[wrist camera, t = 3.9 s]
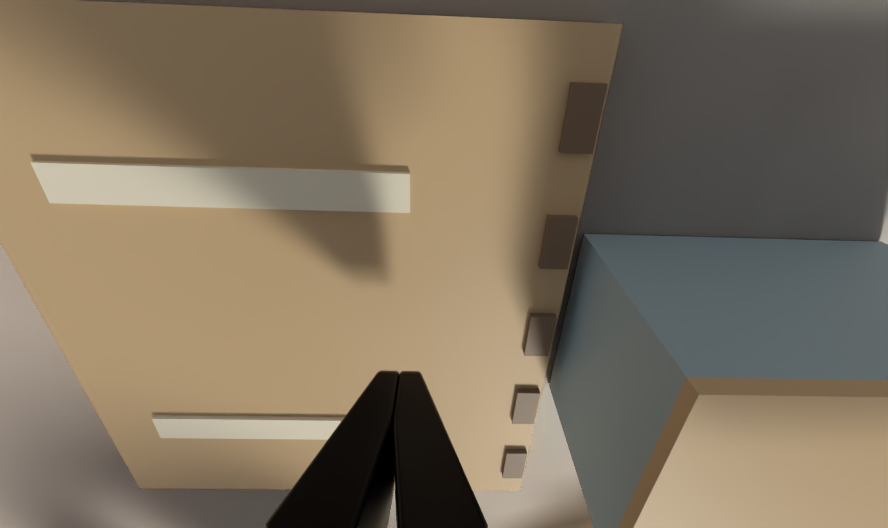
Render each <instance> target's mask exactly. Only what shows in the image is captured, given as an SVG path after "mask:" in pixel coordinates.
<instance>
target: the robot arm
mask: <svg viewBox="0 0 888 528" xmlns="http://www.w3.org/2000/svg"><path fill="white" fill-rule="evenodd" d="M394 484H395V499H396V520H397V528H488V525H487V522H486V520H485V518H484V516H483V513H482V511H481V509H480V506H479V504H478V502H477V500H476V497H475V495H474V493H473V490H472V488H471V486H470V484H469V481H468V479H467V477H466V474H465V472H464V470H463V467H462V465H461V463H460V461H459V458H458V456H457V454H456V451H455V449H454V447H453V445H452V442H451V440H450V438H449V435H448V433H447V431H446V429H445V426H444V424H443V422H442V419H441V417H440V415H439V412H438V410H437V408H436V406H435V403H434V401H433V399H432V396H431V394H430V392H429V390H428V387H427V385H426V383H425V380H424V378H423V376H422V374H421V373H420V372H419V371H402V372H400V374H399V372H398V371H385V370H381V371H379V372H377V374H376V375H375V376H374V378H373V379H372V380H371V382H370V383H369V384H368V386H367V387H366V388H365V390H364V391H363V393H362V394H361V395H360V397H359V398H358V399H357V401H356V402H355V403H354V405H353V406H352V407H351V409H350V410H349V412H348V413H347V414H346V416H345V417H344V418H343V420H342V421H341V422H340V424H339V425H338V426H337V428H336V429H335V431H334V432H333V433H332V435H331V436H330V437H329V439H328V440H327V441H326V443H325V444H324V446H323V447H322V448H321V450H320V451H319V452H318V454H317V455H316V456H315V458H314V459H313V460H312V462H311V463H310V465H309V466H308V467H307V469H306V470H305V471H304V473H303V474H302V475H301V477H300V478H299V479H298V481H297V482H296V484H295V485H294V486H293V488H292V489H291V490H290V492H289V493H288V494H287V496H286V497H285V498H284V500H283V501H282V503H281V504H280V505H279V507H278V508H277V509H276V511H275V512H274V513H273V515H272V516H271V518H270V519H269V520H268V522H267V523H266V528H387V525H388V520H389V514H390V509H391V504H392V498H393V492H394Z"/></svg>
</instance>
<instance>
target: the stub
mask: <svg viewBox="0 0 888 528" xmlns="http://www.w3.org/2000/svg"><path fill="white" fill-rule="evenodd" d="M549 387H550V390H551V393H552V396H553V399H554V402H555V406H556V409H557V412H558V415H559V418H560V421H561V425H562V428H563V431H564V434H565V437H566V441H567V444H568V447H569V450H570V453H571V456H572V460H573V463H574V466H575V469H576V472H577V475H578V479H579V482H580V485H581V488H582V491H583V494H584V498H585V501H586V504H587V507H588V510H589V514H590V517H591V520H592V523H593V526H594V528H888V245H887V244H885V243H883V242H875V241H837V240H799V239H760V238H722V237H683V236H645V235H607V234H584V236H583V241H582V245H581V249H580V254H579V258H578V262H577V267H576V271H575V275H574V280H573V284H572V288H571V293H570V297H569V301H568V306H567V310H566V315H565V319H564V323H563V328H562V332H561V336H560V341H559V345H558V349H557V354H556V358H555V362H554V367H553V371H552V375H551V380H550V384H549Z"/></svg>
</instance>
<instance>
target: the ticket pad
mask: <svg viewBox="0 0 888 528" xmlns="http://www.w3.org/2000/svg"><path fill="white" fill-rule="evenodd" d="M622 27H623V24H617V23H594V22H571V21H548V20H525V19H502V18H478V17H455V16H432V15H409V14H386V13H362V12H339V11H316V10H293V9H270V8H247V7H223V6H200V5H177V4H154V3H131V2H107V1H84V0H0V243H1V244H2V246H3V248H4V250H5V252H6V253H7V255H8V257H9V259H10V260H11V262H12V264H13V266H14V267H15V269H16V271H17V273H18V275H19V276H20V278H21V280H22V282H23V283H24V285H25V287H26V289H27V290H28V292H29V294H30V296H31V298H32V299H33V301H34V303H35V305H36V306H37V308H38V310H39V312H40V313H41V315H42V317H43V319H44V320H45V322H46V324H47V326H48V328H49V329H50V331H51V333H52V335H53V336H54V338H55V340H56V342H57V343H58V345H59V347H60V349H61V351H62V352H63V354H64V356H65V358H66V359H67V361H68V363H69V365H70V366H71V368H72V370H73V372H74V374H75V375H76V377H77V379H78V381H79V382H80V384H81V386H82V388H83V389H84V391H85V393H86V395H87V396H88V398H89V400H90V402H91V404H92V405H93V407H94V409H95V411H96V412H97V414H98V416H99V418H100V419H101V421H102V423H103V425H104V427H105V428H106V430H107V432H108V434H109V435H110V437H111V439H112V441H113V442H114V444H115V446H116V448H117V450H118V451H119V453H120V455H121V457H122V458H123V460H124V462H125V464H126V465H127V467H128V469H129V471H130V472H131V474H132V476H133V478H134V480H135V481H136V483H137V485H138V487H139V488H140V489H292V488H293V486H294V485H295V484H296V482H297V481H298V479H299V478H300V477H301V475H302V474H303V473H304V471H305V470H306V469H307V467H308V466H309V465H310V463H311V462H312V460H313V459H314V458H315V456H316V455H317V454H318V452H319V451H320V450H321V448H322V447H323V446H324V444H325V443H326V441H327V440H328V439H329V437H330V436H331V435H332V433H333V432H334V431H335V429H336V428H337V426H338V425H339V424H340V422H341V421H342V420H343V418H344V417H345V416H346V414H347V413H348V412H349V410H350V409H351V407H352V406H353V405H354V403H355V402H356V401H357V399H358V398H359V397H360V395H361V394H362V393H363V391H364V390H365V388H366V387H367V386H368V384H369V383H370V382H371V380H372V379H373V378H374V376H375V375H376V374H377V372H379V371H381V370H385V371H398V372H399V374H400V372H402V371H419V372H420V373H421V374H422V376H423V378H424V380H425V383H426V385H427V387H428V390H429V392H430V394H431V396H432V399H433V401H434V403H435V406H436V408H437V410H438V412H439V415H440V417H441V419H442V422H443V424H444V426H445V429H446V431H447V433H448V435H449V438H450V440H451V442H452V445H453V447H454V449H455V451H456V454H457V456H458V458H459V461H460V463H461V465H462V467H463V470H464V472H465V474H466V477H467V479H468V481H469V484H470V486H471V488H472V490H495V491H520V490H521V486H522V481H523V476H524V472H525V467H526V463H527V458H528V454H529V449H530V445H531V440H532V436H533V431H534V426H535V422H536V417H537V413H538V408H539V404H540V399H541V395H542V390H543V386H544V381H545V377H546V372H547V367H548V363H549V358H550V354H551V349H552V345H553V340H554V336H555V331H556V327H557V322H558V317H559V313H560V308H561V304H562V299H563V295H564V290H565V286H566V281H567V277H568V272H569V268H570V263H571V258H572V254H573V249H574V245H575V240H576V236H577V231H578V227H579V222H580V218H581V213H582V209H583V204H584V199H585V195H586V190H587V186H588V181H589V177H590V172H591V168H592V163H593V159H594V154H595V149H596V145H597V140H598V136H599V131H600V127H601V122H602V118H603V113H604V109H605V104H606V100H607V95H608V90H609V86H610V81H611V77H612V72H613V68H614V63H615V59H616V54H617V50H618V45H619V40H620V36H621V31H622ZM394 490H395V484H394Z"/></svg>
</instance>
